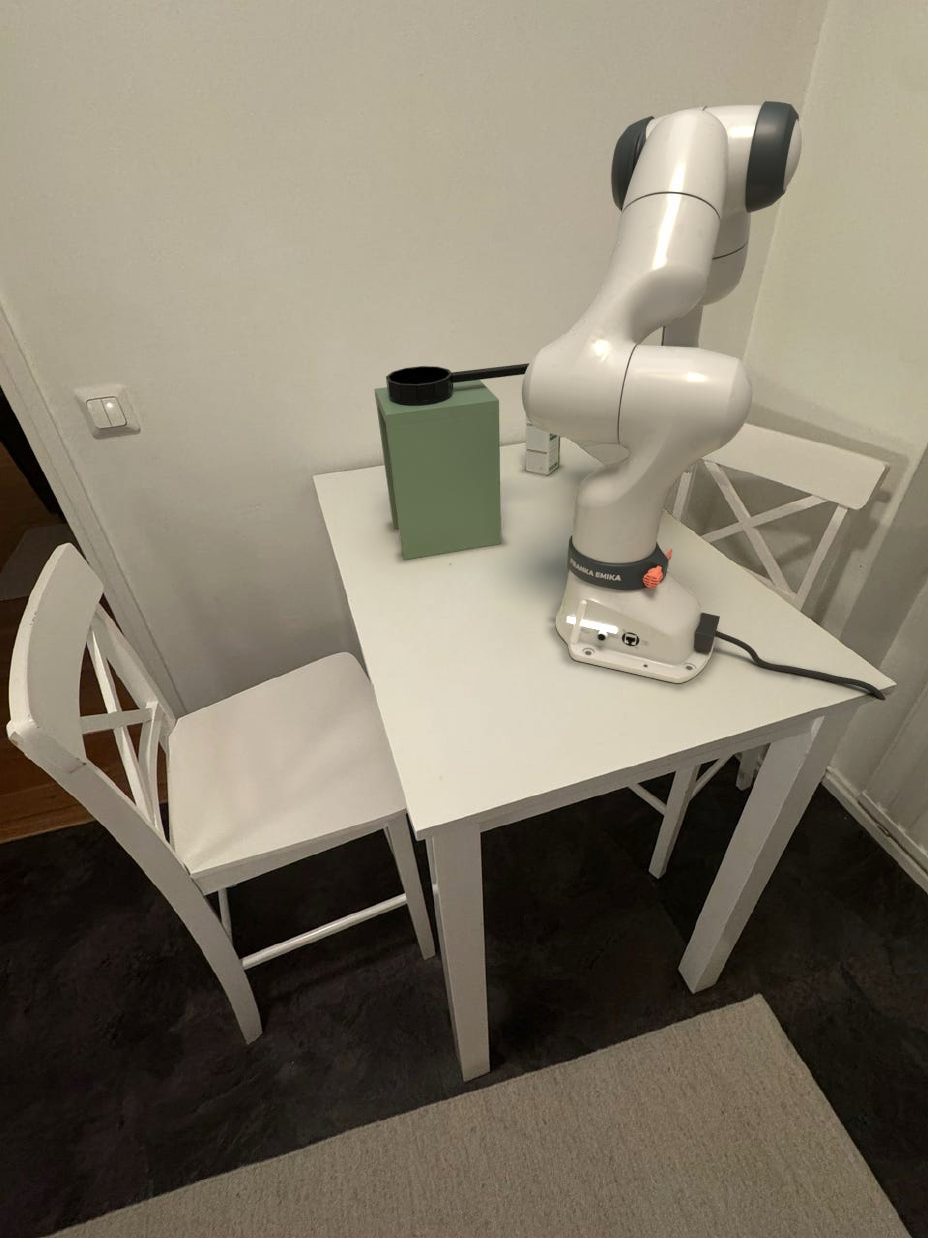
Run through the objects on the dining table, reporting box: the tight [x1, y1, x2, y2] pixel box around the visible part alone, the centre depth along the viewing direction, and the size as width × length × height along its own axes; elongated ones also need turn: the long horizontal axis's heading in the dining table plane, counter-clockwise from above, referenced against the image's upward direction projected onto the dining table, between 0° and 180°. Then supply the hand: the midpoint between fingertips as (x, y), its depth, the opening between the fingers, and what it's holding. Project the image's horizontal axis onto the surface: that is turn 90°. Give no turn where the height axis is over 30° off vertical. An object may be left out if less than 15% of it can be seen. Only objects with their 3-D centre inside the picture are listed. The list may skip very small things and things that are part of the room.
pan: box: [385, 362, 530, 406], centre depth 99 cm, size 26×10×3 cm, turn 104°
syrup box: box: [525, 414, 561, 476], centre depth 132 cm, size 6×6×14 cm
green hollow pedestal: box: [373, 380, 502, 561], centre depth 107 cm, size 18×14×26 cm
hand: (570, 390), depth 104 cm, fingers open, 8 cm apart
